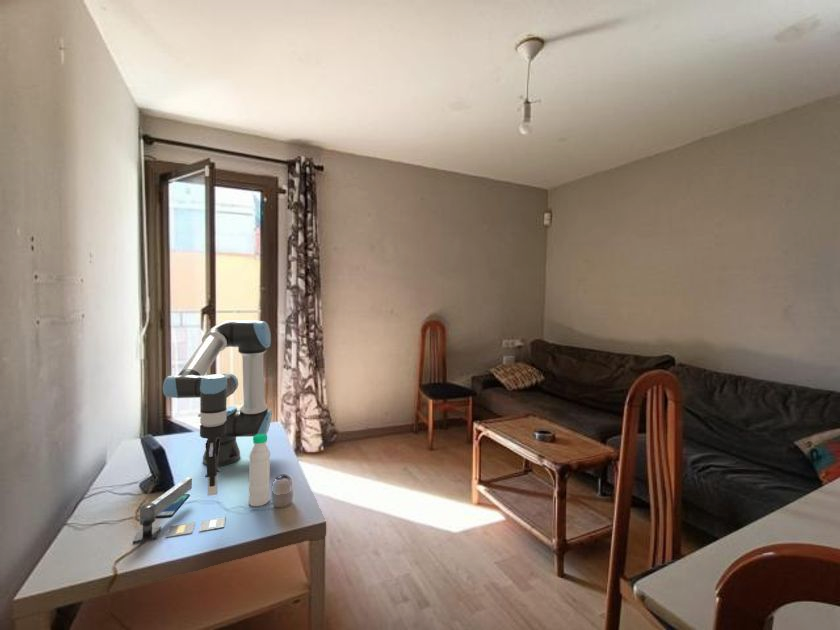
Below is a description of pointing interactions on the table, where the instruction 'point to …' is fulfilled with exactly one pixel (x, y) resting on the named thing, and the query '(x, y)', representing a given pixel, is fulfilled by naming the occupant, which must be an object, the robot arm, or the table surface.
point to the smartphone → (173, 507)
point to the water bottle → (259, 471)
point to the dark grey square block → (147, 534)
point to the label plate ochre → (180, 529)
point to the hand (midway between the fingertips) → (212, 493)
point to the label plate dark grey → (212, 524)
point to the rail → (163, 501)
